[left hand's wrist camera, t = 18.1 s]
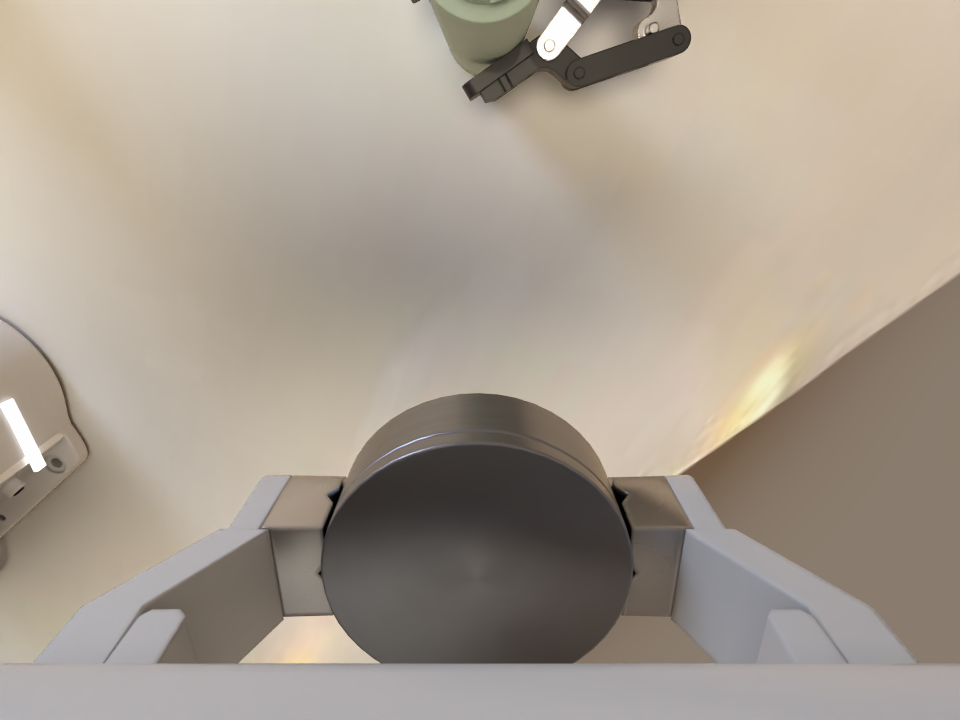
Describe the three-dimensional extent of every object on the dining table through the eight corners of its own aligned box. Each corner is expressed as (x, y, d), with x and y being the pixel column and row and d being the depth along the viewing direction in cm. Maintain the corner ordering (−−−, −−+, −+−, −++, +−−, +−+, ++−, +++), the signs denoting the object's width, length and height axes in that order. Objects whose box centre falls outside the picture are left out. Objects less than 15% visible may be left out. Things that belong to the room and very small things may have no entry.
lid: (507, 337, 9) (512, 377, 7) (659, 533, 10) (692, 602, 9) (288, 489, 10) (252, 554, 8) (454, 649, 11) (450, 729, 10)
